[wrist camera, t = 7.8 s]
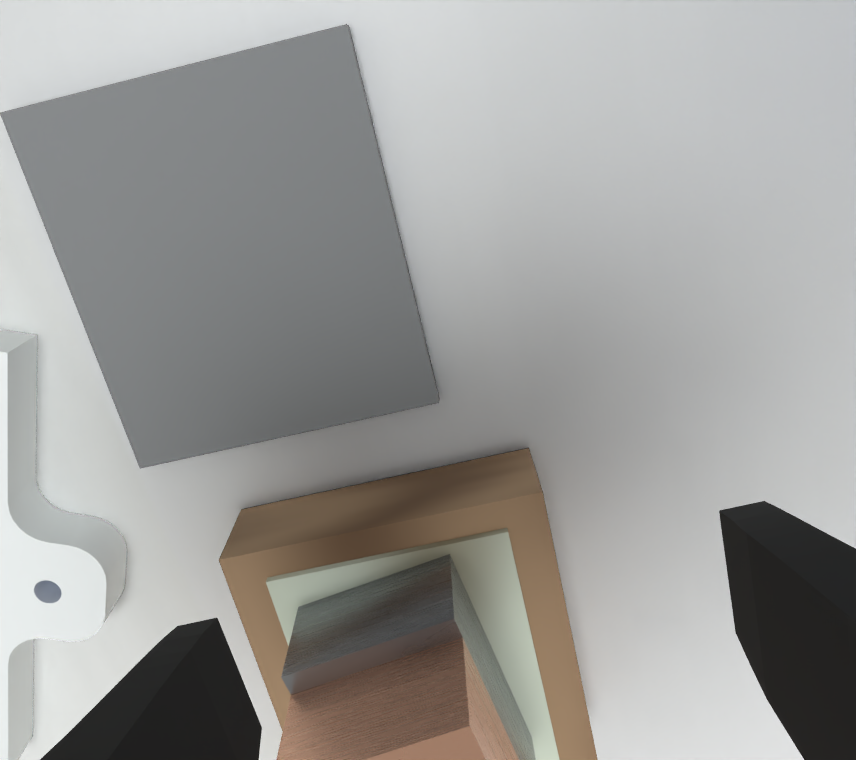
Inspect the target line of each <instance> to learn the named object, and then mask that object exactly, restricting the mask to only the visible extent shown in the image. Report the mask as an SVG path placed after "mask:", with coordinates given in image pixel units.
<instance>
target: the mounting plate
mask: <svg viewBox="0 0 856 760" xmlns="http://www.w3.org/2000/svg"><path fill="white" fill-rule="evenodd" d="M36 424H37V335H36V334H29V333H23V332H17V331H11V330H5V329H0V760H18V759H19V758H20V756H21V754H22V753H23V751H24V749H25V748H26V746H27V745H28V743H29V741H30V740H31V738H32V736H33V692H34V639H36V638H37V639H51V640H59V641H67V642H77V641H82V640H86V639H88V638H90V637H92V636H94V635H95V634H96V633H97V632H98V631H99V630H100V629H101V627H102V625H103V624H104V622H105V620H106V619H107V617H108V615H109V614H110V612H111V610H112V609H113V607H114V606H115V604H116V602H117V601H118V599H119V597H120V596H121V594H122V592H123V591H124V587H125V580H126V562H127V547H126V543H125V540H124V538H123V536H122V534H121V533H120V532H119V530H118V529H117V528H116V527H114V526H113V525H112V524H111V523H109V522H107V521H105V520H103V519H101V518H98V517H94V516H88V515H82V514H75V513H70V512H66V511H63V510H61V509H59V508H57V507H55V506H53V505H52V504H51V503H50V502H49V501H47V500H46V498H45V497H44V496H43V495H42V493H41V492H40V489H39V487H38V485H37V479H36Z"/></svg>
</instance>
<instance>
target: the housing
mask: <svg viewBox="0 0 856 760" xmlns="http://www.w3.org/2000/svg"><path fill="white" fill-rule="evenodd" d="M281 678H282V680H283V682H284V683H285V685H286V687H287V689H288V690H289V692H290V694H291V697H290V701H289V706H288V710H287V715H286V719H285V724H284V728H283V733H282V738H281V742H280V747H279V751H278V756H277V760H536V758H535V752H534V746H533V741H532V736H531V734H530V732H529V729H528V727H527V725H526V723H525V720H524V718H523V716H522V714H521V712H520V709H519V707H518V705H517V703H516V700H515V698H514V696H513V694H512V691H511V689H510V687H509V685H508V683H507V680H506V678H505V676H504V674H503V671H502V669H501V667H500V665H499V662H498V660H497V658H496V656H495V653H494V651H493V649H492V647H491V645H490V642H489V640H488V638H487V636H486V633H485V631H484V629H483V627H482V624H481V622H480V620H479V618H478V616H477V613H476V611H475V609H474V607H473V604H472V602H471V600H470V598H469V595H468V593H467V591H466V589H465V586H464V584H463V582H462V580H461V578H460V575H459V573H458V571H457V569H456V566H455V564H454V562H453V560H452V557H451V555H450V554H448V555H445V556H443V557H440V558H437V559H434V560H431V561H428V562H425V563H422V564H420V565H417V566H414V567H411V568H408V569H405V570H402V571H400V572H397V573H394V574H391V575H388V576H385V577H382V578H379V579H377V580H374V581H371V582H368V583H365V584H362V585H359V586H357V587H354V588H351V589H348V590H345V591H342V592H339V593H336V594H334V595H331V596H328V597H325V598H322V599H319V600H316V601H314V602H311V603H308V604H305V605H302V606H299V607H298V610H297V614H296V618H295V622H294V626H293V631H292V635H291V639H290V643H289V647H288V651H287V655H286V659H285V663H284V667H283V672H282V676H281Z"/></svg>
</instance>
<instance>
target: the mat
mask: <svg viewBox="0 0 856 760" xmlns="http://www.w3.org/2000/svg"><path fill="white" fill-rule="evenodd" d="M0 115H1V117H2V120H3V122H4V125H5V127H6V130H7V132H8V135H9V137H10V140H11V142H12V145H13V148H14V150H15V153H16V155H17V158H18V160H19V163H20V165H21V168H22V170H23V173H24V175H25V178H26V181H27V183H28V186H29V188H30V191H31V193H32V196H33V198H34V201H35V203H36V206H37V208H38V211H39V213H40V216H41V219H42V221H43V224H44V226H45V229H46V231H47V234H48V236H49V239H50V241H51V244H52V246H53V249H54V252H55V254H56V257H57V259H58V262H59V264H60V267H61V269H62V272H63V274H64V277H65V279H66V282H67V284H68V287H69V290H70V292H71V295H72V297H73V300H74V302H75V305H76V307H77V310H78V312H79V315H80V317H81V320H82V323H83V325H84V328H85V330H86V333H87V335H88V338H89V340H90V343H91V345H92V348H93V350H94V353H95V355H96V358H97V361H98V363H99V366H100V368H101V371H102V373H103V376H104V378H105V381H106V383H107V386H108V388H109V391H110V394H111V396H112V399H113V401H114V404H115V406H116V409H117V411H118V414H119V416H120V419H121V421H122V424H123V426H124V429H125V432H126V434H127V437H128V439H129V442H130V444H131V447H132V449H133V452H134V454H135V457H136V459H137V462H138V465H139V467H140V468H145V467H149V466H154V465H158V464H163V463H167V462H172V461H176V460H181V459H186V458H190V457H195V456H199V455H204V454H208V453H213V452H217V451H222V450H226V449H231V448H236V447H240V446H245V445H249V444H254V443H258V442H263V441H267V440H272V439H276V438H281V437H286V436H290V435H295V434H299V433H304V432H308V431H313V430H317V429H322V428H326V427H331V426H336V425H340V424H345V423H349V422H354V421H358V420H363V419H367V418H372V417H376V416H381V415H386V414H390V413H395V412H399V411H404V410H408V409H413V408H417V407H422V406H426V405H431V404H436V403H439V394H438V390H437V386H436V382H435V378H434V374H433V369H432V365H431V361H430V357H429V353H428V349H427V345H426V341H425V337H424V332H423V328H422V324H421V320H420V316H419V312H418V308H417V304H416V300H415V296H414V291H413V287H412V283H411V279H410V275H409V271H408V267H407V263H406V259H405V254H404V250H403V246H402V242H401V238H400V234H399V230H398V226H397V222H396V218H395V213H394V209H393V205H392V201H391V197H390V193H389V189H388V185H387V181H386V176H385V172H384V168H383V164H382V160H381V156H380V152H379V148H378V144H377V139H376V135H375V131H374V127H373V123H372V119H371V115H370V111H369V107H368V103H367V98H366V94H365V90H364V86H363V82H362V78H361V74H360V70H359V66H358V61H357V57H356V53H355V49H354V45H353V41H352V37H351V33H350V29H349V26H348V25H347V24H346V25H342V26H338V27H334V28H330V29H326V30H322V31H318V32H314V33H310V34H306V35H302V36H299V37H295V38H291V39H287V40H283V41H279V42H275V43H271V44H267V45H263V46H259V47H256V48H252V49H248V50H244V51H240V52H236V53H232V54H228V55H224V56H220V57H216V58H213V59H209V60H205V61H201V62H197V63H193V64H189V65H185V66H181V67H177V68H173V69H169V70H166V71H162V72H158V73H154V74H150V75H146V76H142V77H138V78H134V79H130V80H126V81H123V82H119V83H115V84H111V85H107V86H103V87H99V88H95V89H91V90H87V91H83V92H80V93H76V94H72V95H68V96H64V97H60V98H56V99H52V100H48V101H44V102H40V103H36V104H33V105H29V106H25V107H21V108H17V109H13V110H9V111H5V112H1V113H0Z"/></svg>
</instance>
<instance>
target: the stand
mask: <svg viewBox="0 0 856 760" xmlns="http://www.w3.org/2000/svg"><path fill="white" fill-rule="evenodd" d="M448 554H450V555H451V557H452V560H453V562H454V564H455V566H456V569H457V571H458V573H459V575H460V578H461V580H462V582H463V584H464V586H465V589H466V591H467V593H468V595H469V598H470V600H471V602H472V604H473V607H474V609H475V611H476V613H477V616H478V618H479V620H480V622H481V624H482V627H483V629H484V631H485V633H486V636H487V638H488V640H489V642H490V645H491V647H492V649H493V651H494V653H495V656H496V658H497V660H498V662H499V665H500V667H501V669H502V671H503V674H504V676H505V678H506V680H507V683H508V685H509V687H510V689H511V691H512V694H513V696H514V698H515V700H516V703H517V705H518V707H519V709H520V712H521V714H522V716H523V718H524V720H525V723H526V725H527V727H528V729H529V732H530V734H531V736H532V741H533V746H534V752H535V758H536V760H597V755H596V750H595V745H594V740H593V735H592V731H591V726H590V721H589V716H588V711H587V706H586V701H585V696H584V692H583V687H582V682H581V677H580V672H579V667H578V662H577V657H576V652H575V648H574V643H573V638H572V633H571V628H570V623H569V618H568V613H567V609H566V604H565V599H564V594H563V589H562V584H561V579H560V574H559V569H558V565H557V560H556V555H555V550H554V545H553V540H552V535H551V530H550V526H549V521H548V516H547V511H546V506H545V501H544V496H543V492H542V488H541V485H540V482H539V479H538V476H537V473H536V469H535V466H534V463H533V460H532V457H531V454H530V450H529V448H526V449H522V450H517V451H512V452H508V453H503V454H498V455H494V456H489V457H484V458H480V459H475V460H470V461H466V462H461V463H456V464H452V465H447V466H442V467H438V468H433V469H428V470H424V471H419V472H414V473H410V474H405V475H400V476H396V477H391V478H386V479H382V480H377V481H372V482H368V483H363V484H358V485H354V486H349V487H344V488H340V489H335V490H330V491H326V492H321V493H316V494H312V495H307V496H302V497H298V498H293V499H288V500H284V501H279V502H274V503H270V504H265V505H260V506H256V507H251V508H246V509H242V510H241V511H240V513H239V516H238V518H237V520H236V522H235V525H234V527H233V529H232V531H231V534H230V536H229V538H228V540H227V543H226V545H225V547H224V549H223V552H222V554H221V556H220V558H219V562H220V565H221V567H222V570H223V573H224V575H225V578H226V581H227V583H228V586H229V589H230V591H231V594H232V597H233V600H234V602H235V605H236V608H237V610H238V613H239V616H240V618H241V621H242V624H243V626H244V629H245V632H246V634H247V637H248V640H249V642H250V645H251V648H252V650H253V653H254V656H255V658H256V661H257V664H258V667H259V669H260V672H261V675H262V677H263V680H264V683H265V685H266V688H267V691H268V693H269V696H270V699H271V701H272V704H273V707H274V709H275V712H276V715H277V717H278V720H279V723H280V725H281V728H282V731H283V728H284V724H285V719H286V715H287V710H288V706H289V701H290V697H291V694H290V692H289V690H288V689H287V687H286V685H285V683H284V682H283V680H282V678H281V676H282V672H283V667H284V663H285V659H286V655H287V651H288V647H289V643H290V639H291V635H292V631H293V626H294V622H295V618H296V614H297V610H298V607H299V606H302V605H305V604H308V603H311V602H314V601H316V600H319V599H322V598H325V597H328V596H331V595H334V594H336V593H339V592H342V591H345V590H348V589H351V588H354V587H357V586H359V585H362V584H365V583H368V582H371V581H374V580H377V579H379V578H382V577H385V576H388V575H391V574H394V573H397V572H400V571H402V570H405V569H408V568H411V567H414V566H417V565H420V564H422V563H425V562H428V561H431V560H434V559H437V558H440V557H443V556H445V555H448Z"/></svg>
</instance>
